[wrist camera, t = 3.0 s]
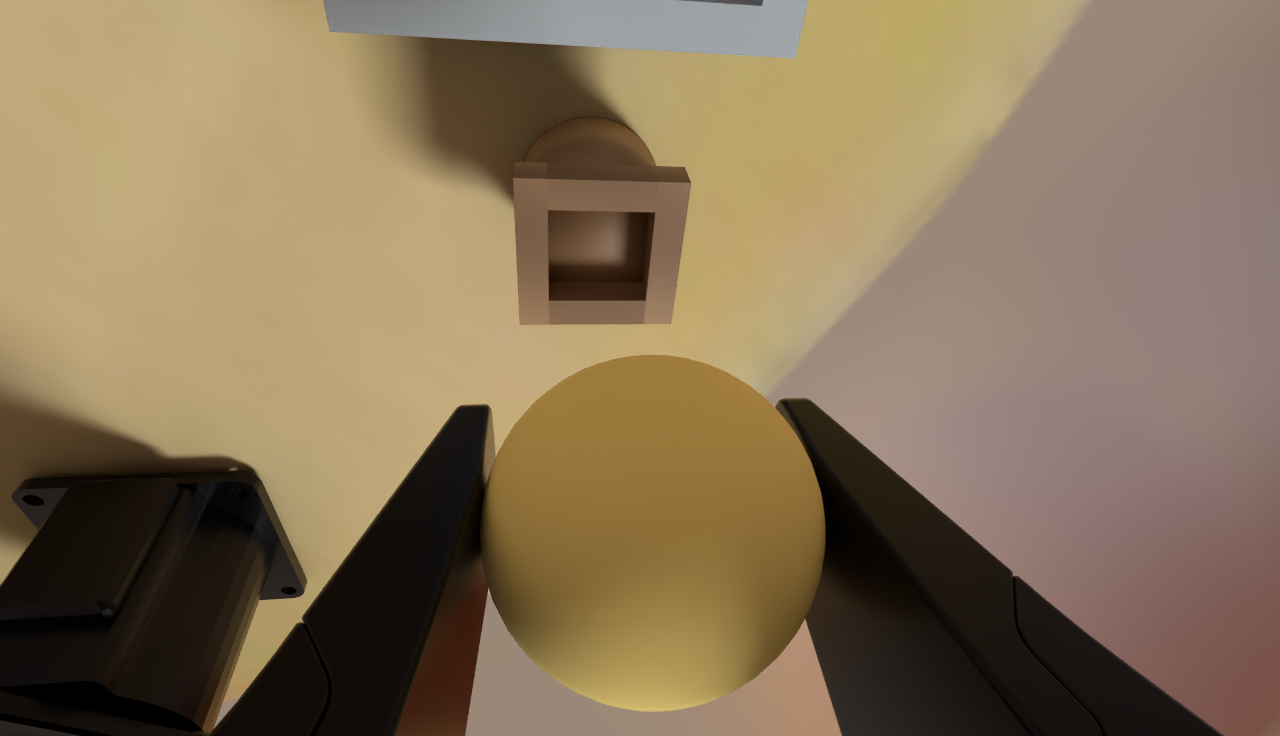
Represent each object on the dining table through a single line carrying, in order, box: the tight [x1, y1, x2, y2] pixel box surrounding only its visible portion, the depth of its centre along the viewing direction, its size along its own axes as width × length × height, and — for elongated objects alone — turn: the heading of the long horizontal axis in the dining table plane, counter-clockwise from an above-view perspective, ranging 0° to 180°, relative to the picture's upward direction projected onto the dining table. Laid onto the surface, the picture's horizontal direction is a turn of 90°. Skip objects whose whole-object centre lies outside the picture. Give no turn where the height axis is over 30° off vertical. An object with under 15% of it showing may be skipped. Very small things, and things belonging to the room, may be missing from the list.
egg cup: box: [513, 117, 691, 325], centre depth 14 cm, size 3×3×3 cm
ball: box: [480, 355, 826, 711], centre depth 8 cm, size 4×4×4 cm
